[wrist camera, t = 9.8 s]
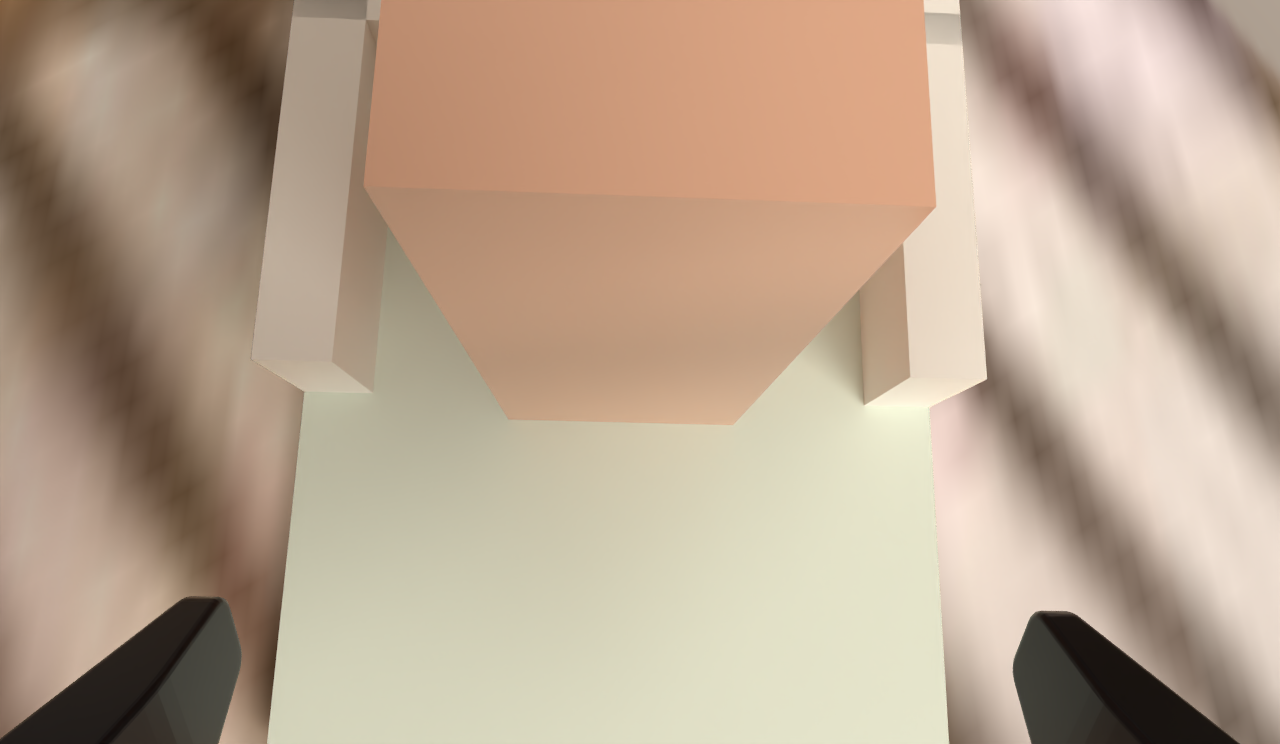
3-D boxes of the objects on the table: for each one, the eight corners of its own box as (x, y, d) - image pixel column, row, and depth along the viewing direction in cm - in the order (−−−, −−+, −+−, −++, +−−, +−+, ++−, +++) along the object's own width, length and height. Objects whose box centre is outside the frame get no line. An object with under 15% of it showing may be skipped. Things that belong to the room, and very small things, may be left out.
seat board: (931, 751, 19) (1017, 800, 15) (283, 746, 18) (197, 794, 14) (895, 84, 23) (957, -17, 19) (352, 62, 22) (299, -47, 18)
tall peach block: (732, 425, 19) (936, 207, 8) (508, 419, 19) (362, 185, 7) (731, 177, 21) (903, -333, 9) (521, 169, 20) (417, -362, 9)
